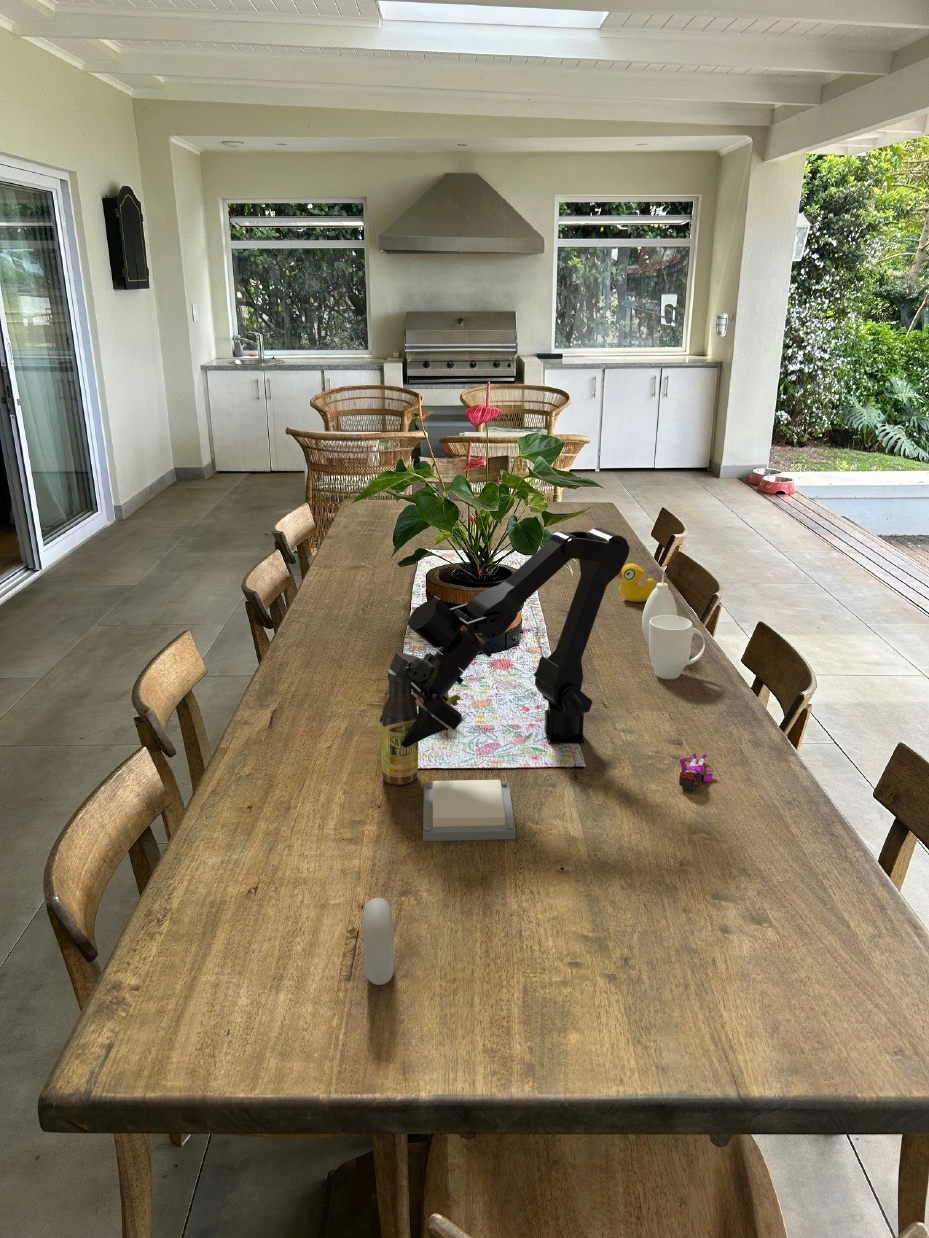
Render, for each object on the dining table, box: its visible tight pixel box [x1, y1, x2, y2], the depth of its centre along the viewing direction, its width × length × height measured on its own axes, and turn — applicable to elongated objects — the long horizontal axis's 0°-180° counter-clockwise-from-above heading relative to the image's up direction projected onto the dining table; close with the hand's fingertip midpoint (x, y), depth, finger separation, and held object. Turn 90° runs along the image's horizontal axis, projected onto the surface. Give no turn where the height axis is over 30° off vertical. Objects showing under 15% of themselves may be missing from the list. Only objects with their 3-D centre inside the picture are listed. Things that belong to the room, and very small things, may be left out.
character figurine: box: [678, 753, 714, 790], centre depth 156 cm, size 6×5×12 cm
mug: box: [648, 615, 706, 680], centre depth 195 cm, size 12×9×12 cm
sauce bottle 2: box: [641, 572, 678, 644], centre depth 208 cm, size 8×8×18 cm
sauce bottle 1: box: [380, 668, 419, 786], centre depth 153 cm, size 6×6×20 cm
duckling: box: [616, 563, 657, 603], centre depth 239 cm, size 11×5×10 cm, turn 70°
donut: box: [362, 897, 395, 986], centre depth 111 cm, size 10×4×10 cm, turn 4°
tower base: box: [422, 779, 516, 842], centre depth 145 cm, size 14×14×3 cm
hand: (391, 734), depth 153 cm, fingers open, 9 cm apart
